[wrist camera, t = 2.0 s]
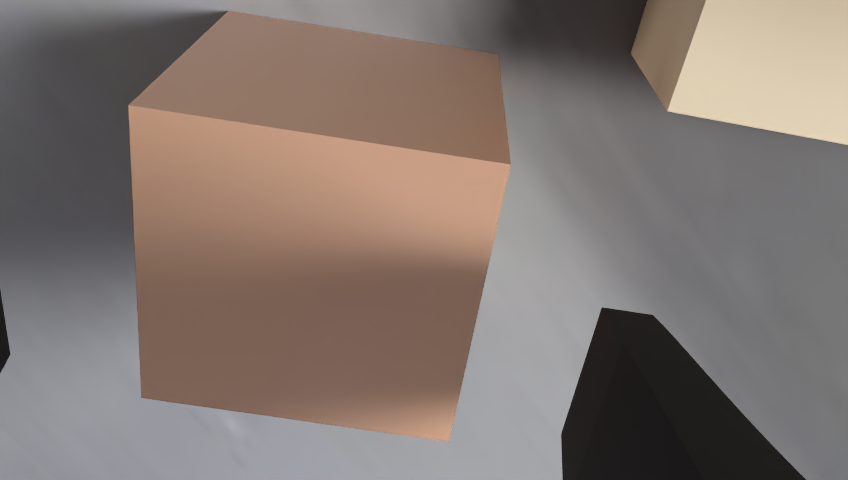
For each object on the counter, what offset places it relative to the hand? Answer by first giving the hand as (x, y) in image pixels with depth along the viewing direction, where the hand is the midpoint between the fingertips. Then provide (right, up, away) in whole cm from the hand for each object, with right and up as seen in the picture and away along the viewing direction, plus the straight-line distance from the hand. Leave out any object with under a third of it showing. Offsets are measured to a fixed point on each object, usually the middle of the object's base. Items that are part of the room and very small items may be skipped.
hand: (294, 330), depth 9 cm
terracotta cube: (0, +3, +5) cm, 6 cm away
